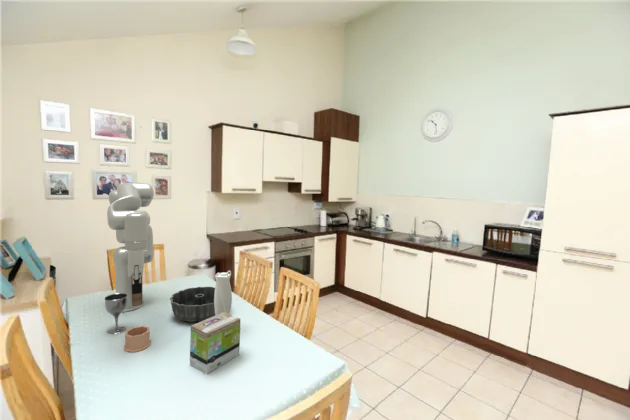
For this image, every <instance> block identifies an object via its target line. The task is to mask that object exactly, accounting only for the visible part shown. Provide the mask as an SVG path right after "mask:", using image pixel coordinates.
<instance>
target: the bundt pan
mask: <svg viewBox="0 0 630 420" xmlns="http://www.w3.org/2000/svg"><path fill="white" fill-rule="evenodd" d="M214 293H215V286H196V287H188V288H185V289H183V290H179V291H177V292H175V293H173V294H171V297H169V300H170V304H171V311H172V313H173V315H174V317H175V318H177V319H179V320H180V321H182V322H189V323H194V322H196V321H197V322H198V323H199V322H201V321H203V320H206V319H208V318H211V317H213V316H215V308H214Z"/></svg>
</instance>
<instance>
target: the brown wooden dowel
mask: <svg viewBox="0 0 630 420" xmlns="http://www.w3.org/2000/svg"><path fill="white" fill-rule="evenodd" d="M138 269H139V268H138ZM134 275H135V274H134ZM138 275H140V274H138ZM134 278H135V277H134ZM138 278H139V277H138ZM141 283H142V284H143V275H142V276H141ZM131 284H133V279H132V276H131ZM143 302H144V301H143V292H142V293H138V294H132V306H139V305H143Z"/></svg>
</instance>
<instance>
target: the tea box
mask: <svg viewBox="0 0 630 420" xmlns="http://www.w3.org/2000/svg"><path fill="white" fill-rule="evenodd" d="M189 341H190V342H189V344H190V345H189V365H190V366H192V367H193V368H195V369H197V370H199V371H200V372H203V373H204V374H206V375H207V374H209V373H211V372H212V371H214V370H215V369H217V368H219V367H221V366H222V365H224V364H225V363H227V362H229V361H230V360H233V359H234V358H236V357H238V356H239V355H240V345H241V344H240V343H241V342H240V341H241V318H239V317H237V316H235V315H232V314H231V313H230V314H227V313H225V312H223V313H220V314H218V315H215V316H213V317H211V318H208V319H206V320H202V321H201V322H199V321H198V322H197V323H194V324H191V325H190V339H189Z"/></svg>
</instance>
